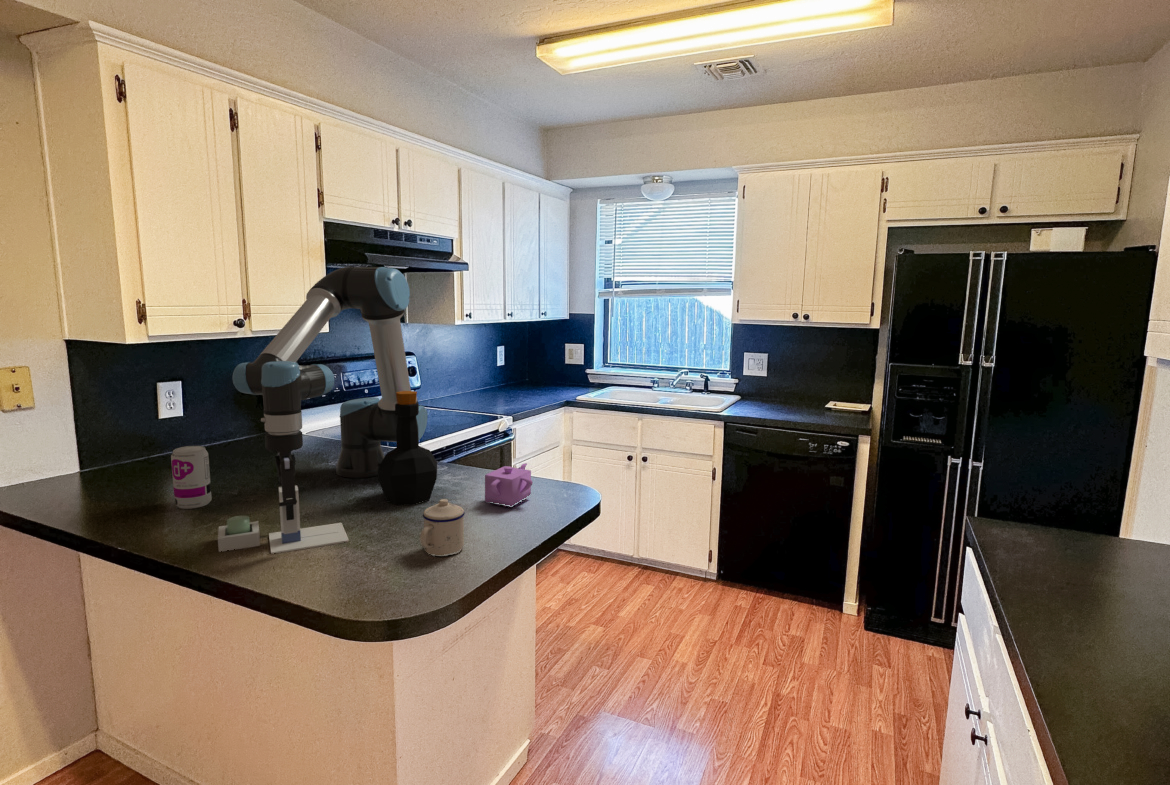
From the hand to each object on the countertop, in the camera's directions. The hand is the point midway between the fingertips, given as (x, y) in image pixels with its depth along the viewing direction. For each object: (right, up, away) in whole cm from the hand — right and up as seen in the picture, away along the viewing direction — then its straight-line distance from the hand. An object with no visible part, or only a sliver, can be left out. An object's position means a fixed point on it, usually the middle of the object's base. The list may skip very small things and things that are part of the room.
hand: (288, 522), depth 142 cm
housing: (-11, -4, -1) cm, 12 cm away
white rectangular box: (0, -4, +1) cm, 4 cm away
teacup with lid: (+35, -6, -3) cm, 36 cm away
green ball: (-11, -3, -1) cm, 11 cm away
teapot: (+47, -1, +31) cm, 56 cm away
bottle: (+18, 0, +32) cm, 37 cm away
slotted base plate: (+3, -4, +3) cm, 6 cm away
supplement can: (-36, 0, +23) cm, 42 cm away
